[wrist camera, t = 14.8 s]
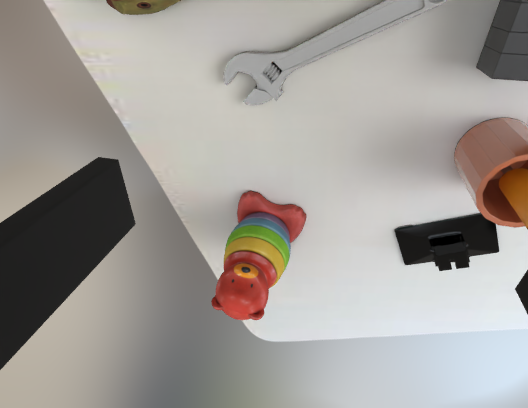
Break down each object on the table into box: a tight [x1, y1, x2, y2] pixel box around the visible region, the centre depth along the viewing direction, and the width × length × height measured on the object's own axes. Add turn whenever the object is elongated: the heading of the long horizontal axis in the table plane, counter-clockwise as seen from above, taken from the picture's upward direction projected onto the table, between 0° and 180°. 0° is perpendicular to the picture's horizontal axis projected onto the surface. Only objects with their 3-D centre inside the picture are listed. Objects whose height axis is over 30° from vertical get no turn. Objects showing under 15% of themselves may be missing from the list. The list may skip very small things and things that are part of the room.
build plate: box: [395, 213, 499, 271], centre depth 45 cm, size 12×7×5 cm, turn 115°
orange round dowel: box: [499, 165, 528, 229], centre depth 32 cm, size 3×3×16 cm
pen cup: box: [454, 118, 528, 227], centre depth 35 cm, size 8×8×10 cm
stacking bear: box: [212, 191, 306, 320], centre depth 46 cm, size 11×10×18 cm
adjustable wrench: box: [224, 0, 447, 105], centre depth 36 cm, size 25×6×2 cm, turn 112°
